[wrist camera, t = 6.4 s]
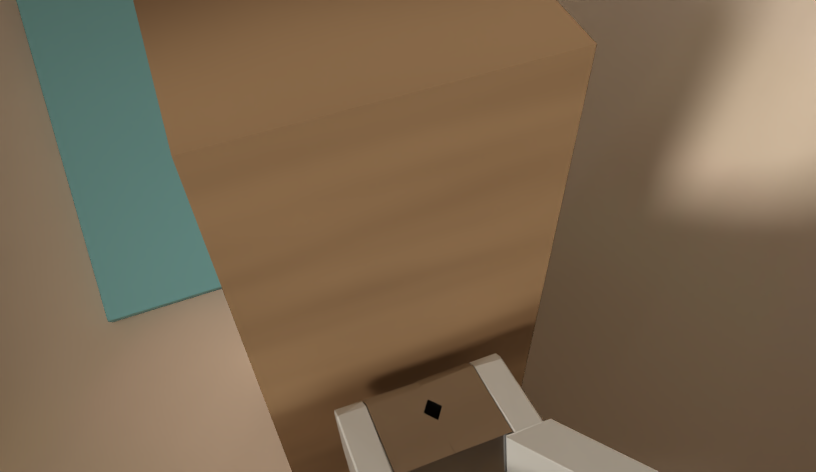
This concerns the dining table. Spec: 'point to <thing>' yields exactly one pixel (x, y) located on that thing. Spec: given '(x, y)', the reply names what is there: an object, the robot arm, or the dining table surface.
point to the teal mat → (117, 154)
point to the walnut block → (370, 183)
